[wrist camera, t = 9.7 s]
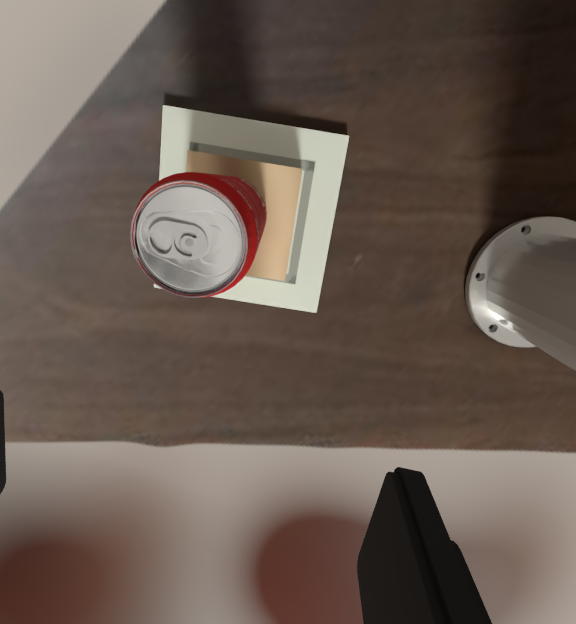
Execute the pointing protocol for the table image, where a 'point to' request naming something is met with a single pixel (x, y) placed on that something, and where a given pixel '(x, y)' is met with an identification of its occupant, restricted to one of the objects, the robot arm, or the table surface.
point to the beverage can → (198, 232)
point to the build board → (281, 151)
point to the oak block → (277, 197)
